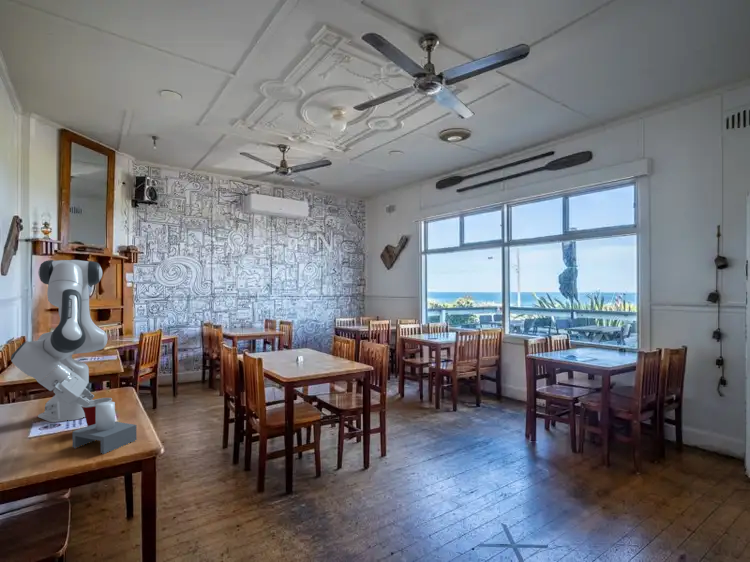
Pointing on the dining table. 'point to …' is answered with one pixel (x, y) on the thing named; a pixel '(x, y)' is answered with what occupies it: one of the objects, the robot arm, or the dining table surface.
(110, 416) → the white rounded domed part
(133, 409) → the dining table surface
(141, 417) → the dining table surface
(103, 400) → the plastic cup
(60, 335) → the robot arm
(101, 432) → the shelf
